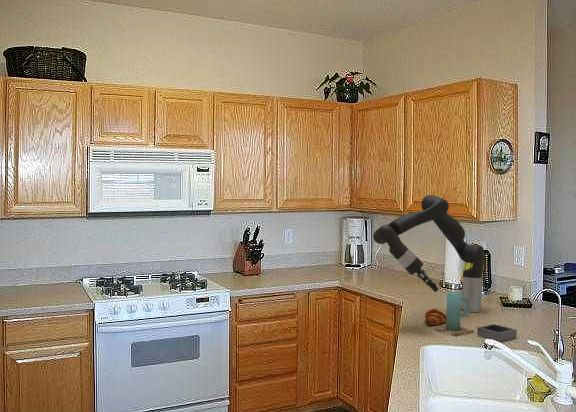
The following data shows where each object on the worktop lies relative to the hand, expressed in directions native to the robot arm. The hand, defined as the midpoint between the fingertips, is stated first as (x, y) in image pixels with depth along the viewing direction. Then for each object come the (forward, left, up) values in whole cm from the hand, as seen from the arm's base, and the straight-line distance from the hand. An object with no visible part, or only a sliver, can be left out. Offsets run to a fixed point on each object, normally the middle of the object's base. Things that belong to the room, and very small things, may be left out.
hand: (435, 288), depth 246 cm
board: (+5, +6, -18) cm, 20 cm away
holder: (+21, +14, -18) cm, 31 cm away
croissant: (-9, +12, -19) cm, 24 cm away
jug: (+6, +7, -18) cm, 20 cm away
